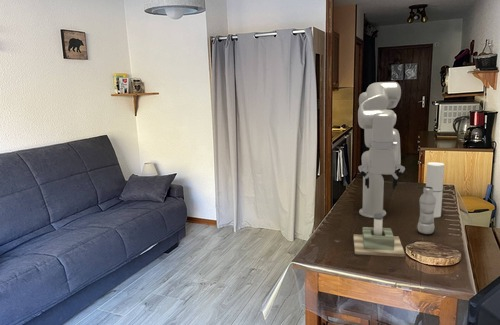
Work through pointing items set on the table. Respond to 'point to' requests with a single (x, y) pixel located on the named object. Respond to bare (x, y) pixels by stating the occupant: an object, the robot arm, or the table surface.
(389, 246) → the socket
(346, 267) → the table surface
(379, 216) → the peg
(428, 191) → the plastic bottle
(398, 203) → the table surface
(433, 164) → the cylindrical container
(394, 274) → the table surface
